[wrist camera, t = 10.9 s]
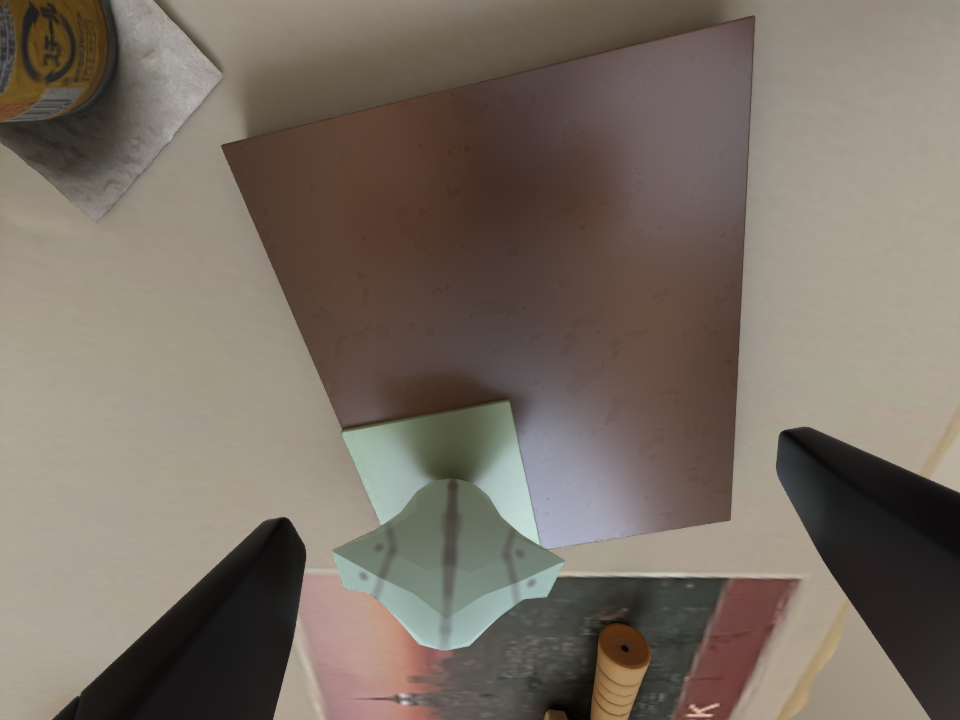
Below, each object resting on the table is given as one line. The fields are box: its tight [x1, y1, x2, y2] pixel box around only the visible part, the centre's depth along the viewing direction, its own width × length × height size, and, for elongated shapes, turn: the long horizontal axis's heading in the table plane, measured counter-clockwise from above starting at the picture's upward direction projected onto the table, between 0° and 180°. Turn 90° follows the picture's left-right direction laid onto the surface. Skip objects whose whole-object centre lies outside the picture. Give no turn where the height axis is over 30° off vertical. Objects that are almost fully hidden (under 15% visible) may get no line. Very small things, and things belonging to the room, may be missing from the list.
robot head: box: [331, 478, 565, 651], centre depth 18 cm, size 8×4×7 cm, turn 85°
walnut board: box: [221, 16, 755, 549], centre depth 20 cm, size 16×20×2 cm
